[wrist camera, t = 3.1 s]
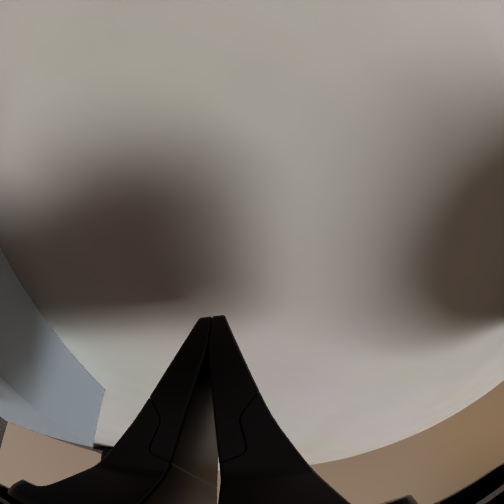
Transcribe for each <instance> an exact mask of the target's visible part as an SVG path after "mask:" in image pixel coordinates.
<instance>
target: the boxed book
mask: <svg viewBox="0 0 504 504" xmlns="http://www.w3.org/2000/svg"><path fill="white" fill-rule="evenodd" d="M104 392H105V389H104V388H103V387H102V386H101V385H100V384H99V383H98V381H97V380H96V379H95V378H94V377H93V376H92V375H91V374H90V373H89V372H88V371H87V370H86V369H85V368H84V366H83V365H82V364H81V363H80V362H79V361H78V360H77V359H76V357H75V356H74V355H73V354H72V353H71V352H70V350H69V349H68V348H67V347H66V346H65V344H64V343H63V342H62V341H61V339H60V338H59V337H58V336H57V334H56V333H55V332H54V330H53V329H52V328H51V327H50V325H49V324H48V323H47V321H46V320H45V318H44V317H43V316H42V314H41V313H40V311H39V310H38V309H37V307H36V306H35V304H34V303H33V301H32V300H31V298H30V297H29V295H28V294H27V292H26V291H25V289H24V287H23V286H22V284H21V283H20V281H19V279H18V278H17V276H16V274H15V273H14V271H13V269H12V268H11V266H10V264H9V262H8V260H7V259H6V257H5V255H4V253H3V251H2V249H1V247H0V416H1V417H2V418H3V419H4V420H6V421H7V422H10V423H12V424H15V425H18V426H20V427H23V428H26V429H29V430H31V431H34V432H37V433H40V434H44V435H47V436H50V437H53V438H57V439H60V440H64V441H68V442H72V443H76V444H80V445H84V446H89V447H93V442H94V437H95V432H96V427H97V422H98V418H99V413H100V409H101V405H102V400H103V396H104Z"/></svg>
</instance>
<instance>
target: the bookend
mask: <svg viewBox="0 0 504 504" xmlns="http://www.w3.org/2000/svg"><path fill="white" fill-rule="evenodd" d="M6 425H7V421H6V420H4V419H3V418H2V417H1V416H0V447H1V443H2V440H3V436H4V432H5V429H6Z"/></svg>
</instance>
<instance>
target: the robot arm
mask: <svg viewBox="0 0 504 504" xmlns="http://www.w3.org/2000/svg"><path fill="white" fill-rule="evenodd" d="M150 398H151V399H150ZM150 398H149V399H148V400H147V402H146V404H145V405H144V407H143V408H142V410H141V411H140V413H139V414H138V416H137V417H136V419H135V420H134V421H133V423H132V424H131V425H130V427H129V428H128V429H127V431H126V432H125V433H124V435H123V436H122V437H121V438H120V439H119V441H118V442H117V443H116V444H115V446H114V447H113V448H112V449H107V448H102V447H96V446H94V447H93V450H95V451H97V452H98V453H100V454H102V456H101V462H99V463H98V464H97V465H95V466H94V467H92V468H90V469H87V470H85V471H83V472H80V473H78V474H76V475H73V476H71V477H69V478H66V479H64V480H61V481H59V482H56V483H53V484H51V485H47V486H36V485H34V484H32V483H29V482H27V481H25V480H20V481H19V482H17V483H15V484H13V485H12V487H10V488H8V487H6V486H4V485H2V484H0V504H217V488H216V487H217V474H218V457H219V463H220V475H221V484H220V493H219V502H218V504H350V503H349V502H348V501H347V500H346V499H344V498H343V497H342V496H341V495H340V494H339V493H338V492H336V491H335V490H334V489H333V488H332V487H331V486H330V485H329V484H328V483H326V482H325V481H324V480H323V479H322V478H321V477H320V476H319V475H318V474H317V473H316V472H315V471H314V470H313V469H312V468H311V467H310V466H309V464H308V463H307V462H306V461H305V460H304V458H303V457H302V456H301V455H300V453H299V452H298V451H297V449H296V448H295V447H294V446H293V444H292V443H291V442H290V440H289V439H288V438H287V436H286V435H285V434H284V432H283V431H282V430H281V428H280V427H279V425H278V424H277V422H276V421H275V419H274V418H273V416H272V415H271V413H270V411H269V409H268V407H267V406H266V404H265V402H264V400H263V398H262V396H261V394H260V392H259V390H258V388H257V385H256V383H255V381H254V379H253V377H252V375H251V373H250V371H249V369H248V366H247V364H246V362H245V360H244V358H243V356H242V353H241V351H240V349H239V347H238V345H237V342H236V340H235V338H234V336H233V333H232V331H231V329H230V327H229V324H228V322H227V320H226V317H225V316H224V315H220V316H213V317H203V318H200V319H199V320H198V321H197V323H196V324H195V326H194V328H193V329H192V331H191V332H190V334H189V335H188V337H187V339H186V340H185V342H184V343H183V345H182V346H181V348H180V350H179V351H178V353H177V354H176V356H175V358H174V359H173V361H172V362H171V364H170V365H169V367H168V369H167V370H166V372H165V373H164V375H163V377H162V378H161V380H160V381H159V383H158V385H157V386H156V388H155V389H154V391H153V393H152V394H151V396H150ZM380 504H418V503H417V502H416V500H415V499H414V498H413V497H412V496H411V495H406V496H403V497H400V498H397V499H394V500H390V501H387V502H384V503H380ZM434 504H504V463H502V464H500V465H499V466H497V467H496V468H494V469H493V470H491V471H489V472H488V473H486V474H485V475H483V476H482V477H480V478H479V479H477V480H476V481H474V482H472V483H471V484H469V485H467V486H466V487H464V488H462V489H461V490H459V491H457V492H455V493H453V494H451V495H450V496H448V497H446V498H444V499H442V500H440V501H438V502H436V503H434Z"/></svg>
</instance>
